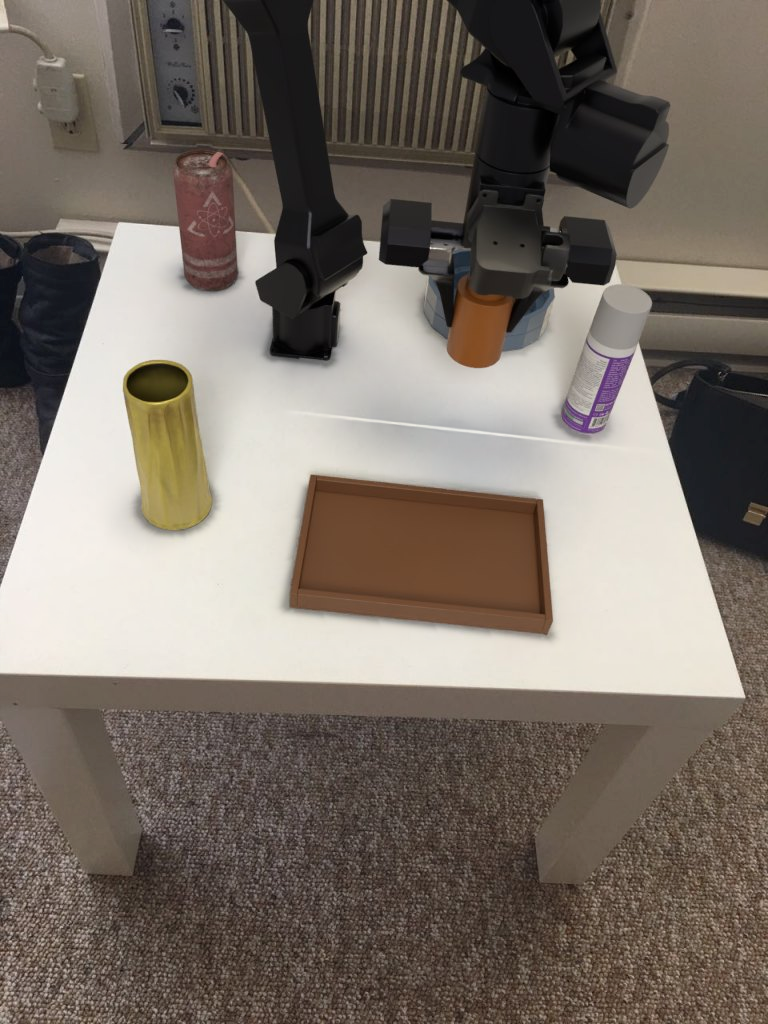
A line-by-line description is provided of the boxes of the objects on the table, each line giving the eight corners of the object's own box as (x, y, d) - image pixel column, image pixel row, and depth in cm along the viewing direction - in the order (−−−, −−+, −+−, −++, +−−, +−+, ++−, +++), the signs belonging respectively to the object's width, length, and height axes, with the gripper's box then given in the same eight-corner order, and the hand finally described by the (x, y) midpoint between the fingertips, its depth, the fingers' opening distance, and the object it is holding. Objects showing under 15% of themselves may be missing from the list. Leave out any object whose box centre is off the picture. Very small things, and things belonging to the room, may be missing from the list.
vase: (153, 540, 70) (129, 416, 59) (132, 491, 74) (105, 365, 63) (221, 518, 72) (210, 395, 62) (198, 471, 76) (183, 347, 65)
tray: (289, 607, 67) (289, 593, 65) (310, 488, 76) (310, 473, 74) (547, 634, 67) (553, 621, 66) (538, 513, 76) (543, 499, 75)
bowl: (421, 346, 91) (426, 312, 87) (425, 274, 100) (430, 241, 97) (548, 360, 91) (558, 327, 88) (541, 287, 100) (549, 254, 97)
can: (248, 272, 97) (244, 156, 87) (219, 299, 93) (210, 181, 83) (204, 256, 98) (194, 140, 88) (174, 282, 95) (160, 164, 84)
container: (603, 409, 87) (650, 286, 75) (606, 439, 83) (656, 317, 72) (559, 403, 86) (599, 280, 75) (561, 433, 83) (603, 310, 72)
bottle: (446, 365, 73) (464, 267, 66) (446, 331, 77) (462, 234, 69) (502, 370, 73) (526, 273, 66) (499, 336, 77) (521, 240, 69)
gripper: (384, 197, 56) (368, 376, 67) (655, 224, 56) (593, 397, 68) (390, 124, 63) (375, 297, 75) (630, 149, 64) (577, 316, 75)
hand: (478, 327), depth 73 cm, fingers closed on bottle, 5 cm apart
